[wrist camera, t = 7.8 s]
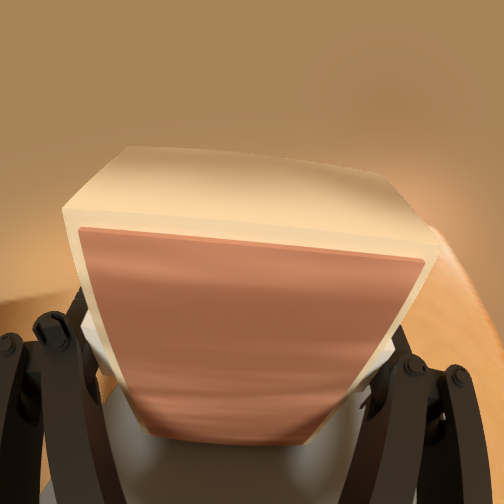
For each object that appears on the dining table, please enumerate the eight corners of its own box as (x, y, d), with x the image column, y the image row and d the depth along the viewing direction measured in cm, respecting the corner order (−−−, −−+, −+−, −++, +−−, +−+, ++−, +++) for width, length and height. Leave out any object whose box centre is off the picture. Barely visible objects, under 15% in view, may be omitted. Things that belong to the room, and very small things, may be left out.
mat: (35, 512, 7) (29, 510, 7) (173, 318, 20) (172, 311, 19) (414, 620, 3) (420, 621, 3) (449, 400, 16) (454, 395, 15)
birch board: (308, 447, 13) (446, 249, 6) (144, 436, 12) (58, 212, 5) (300, 379, 16) (381, 174, 9) (156, 369, 15) (127, 146, 8)
